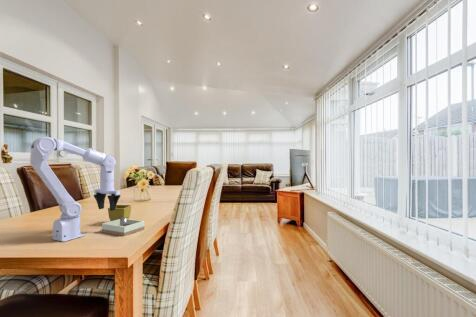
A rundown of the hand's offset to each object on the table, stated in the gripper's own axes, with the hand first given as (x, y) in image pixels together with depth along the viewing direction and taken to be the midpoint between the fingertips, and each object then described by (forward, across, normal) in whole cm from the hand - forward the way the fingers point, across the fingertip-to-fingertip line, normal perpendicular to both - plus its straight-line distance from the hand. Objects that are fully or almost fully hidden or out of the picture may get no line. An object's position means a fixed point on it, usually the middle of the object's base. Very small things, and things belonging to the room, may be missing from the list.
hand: (106, 209), depth 123 cm
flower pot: (+10, +5, -12) cm, 16 cm away
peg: (+10, -8, -3) cm, 13 cm away
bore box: (+10, -8, -3) cm, 13 cm away
